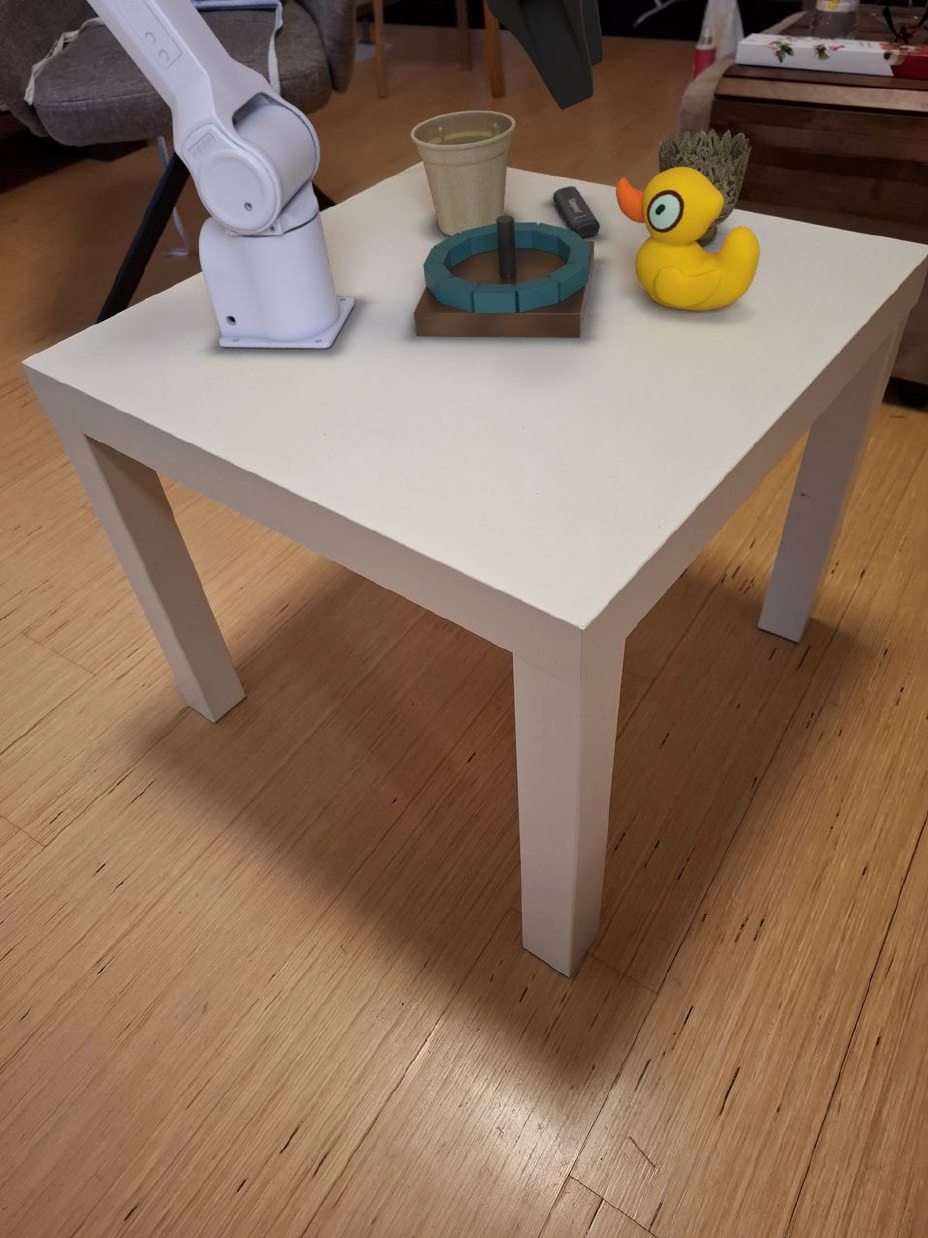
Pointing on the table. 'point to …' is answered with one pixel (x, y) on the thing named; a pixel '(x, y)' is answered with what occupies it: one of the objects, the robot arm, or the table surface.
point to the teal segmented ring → (508, 295)
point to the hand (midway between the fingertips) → (583, 83)
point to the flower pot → (465, 166)
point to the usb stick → (576, 211)
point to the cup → (710, 166)
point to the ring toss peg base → (505, 269)
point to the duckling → (687, 242)
